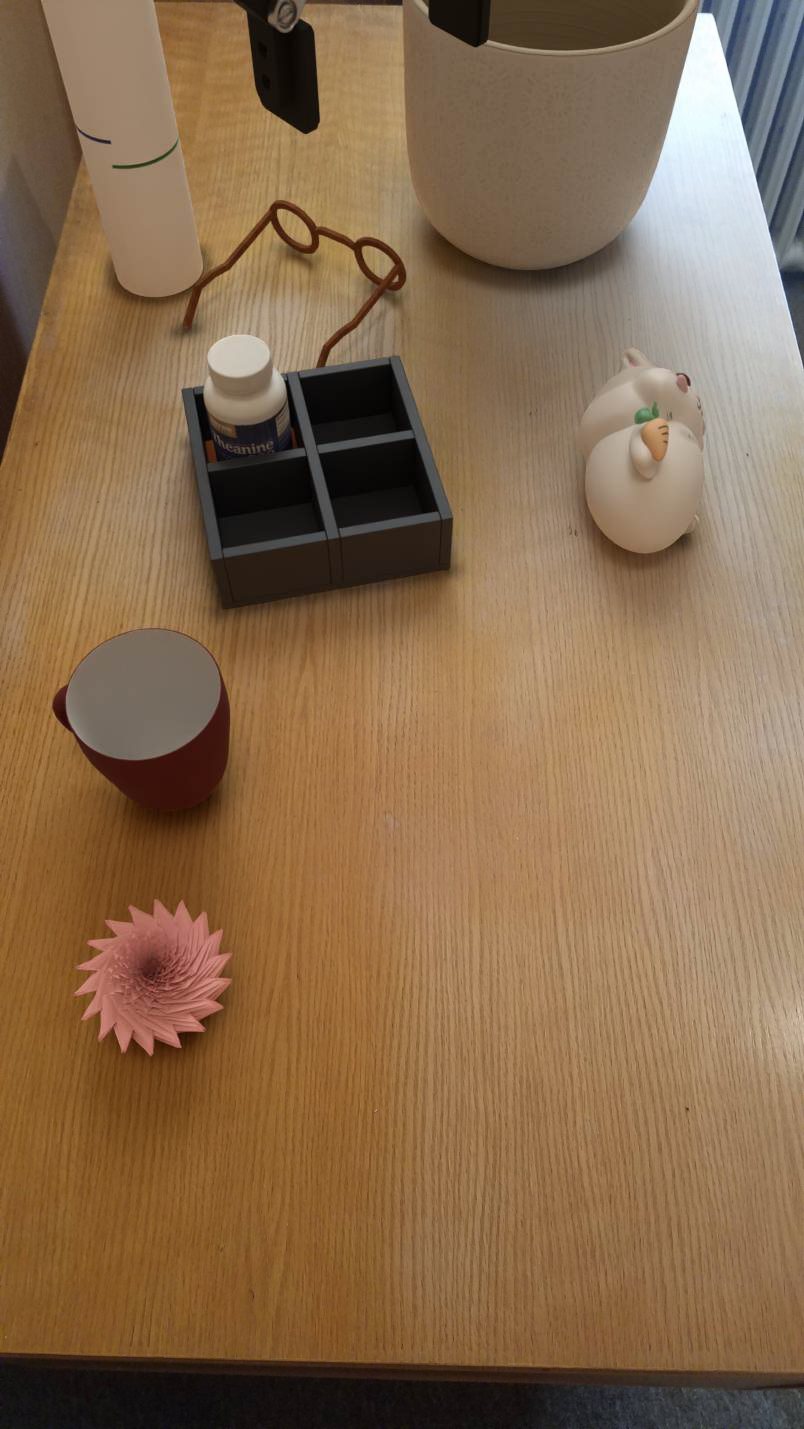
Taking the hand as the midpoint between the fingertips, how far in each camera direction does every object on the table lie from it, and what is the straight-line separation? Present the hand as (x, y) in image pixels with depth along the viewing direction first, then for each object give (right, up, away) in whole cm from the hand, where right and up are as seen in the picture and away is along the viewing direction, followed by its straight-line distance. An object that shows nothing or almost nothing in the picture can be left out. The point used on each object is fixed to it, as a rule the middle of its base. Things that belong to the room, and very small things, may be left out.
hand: (376, 74), depth 44 cm
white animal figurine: (+17, -12, +29) cm, 35 cm away
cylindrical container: (-19, +9, +41) cm, 46 cm away
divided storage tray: (-5, -13, +28) cm, 31 cm away
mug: (-13, -31, +17) cm, 38 cm away
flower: (-11, -42, +11) cm, 45 cm away
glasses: (-7, +4, +38) cm, 39 cm away
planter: (+12, +14, +44) cm, 48 cm away
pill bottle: (-9, -10, +29) cm, 32 cm away
